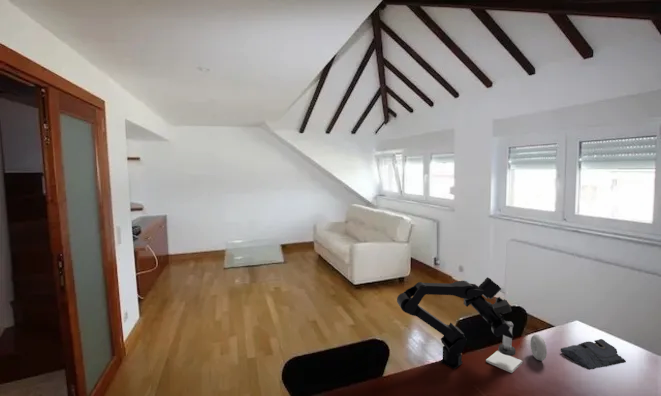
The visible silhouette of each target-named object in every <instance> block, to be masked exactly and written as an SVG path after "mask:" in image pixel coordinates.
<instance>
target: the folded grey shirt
mask: <svg viewBox="0 0 661 396" xmlns="http://www.w3.org/2000/svg"><path fill="white" fill-rule="evenodd" d="M560 352H561V353H562V354H564V355H565V356H567V358H568V357H569V359H571V360H572V361H574V362H575V363H577V364H579V365H580V366H581V367H583V368H586V369H587V370H595V369H601V368H606V367H610V366H615V365H619V364H623V363H627V362H626V361H627V360H626V359H625V358H623V357H622V356H621V355H619V354H618V351H617V348H616V347H615V346H614V345H611V344H609V343H608V342H607V341H606V340H604V339H602V338H600V339H595V340H594V342H593V341H585V342H584V341H583V342H580V343H578V344H573V345H570V346H565V347H561V348H560Z"/></svg>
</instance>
